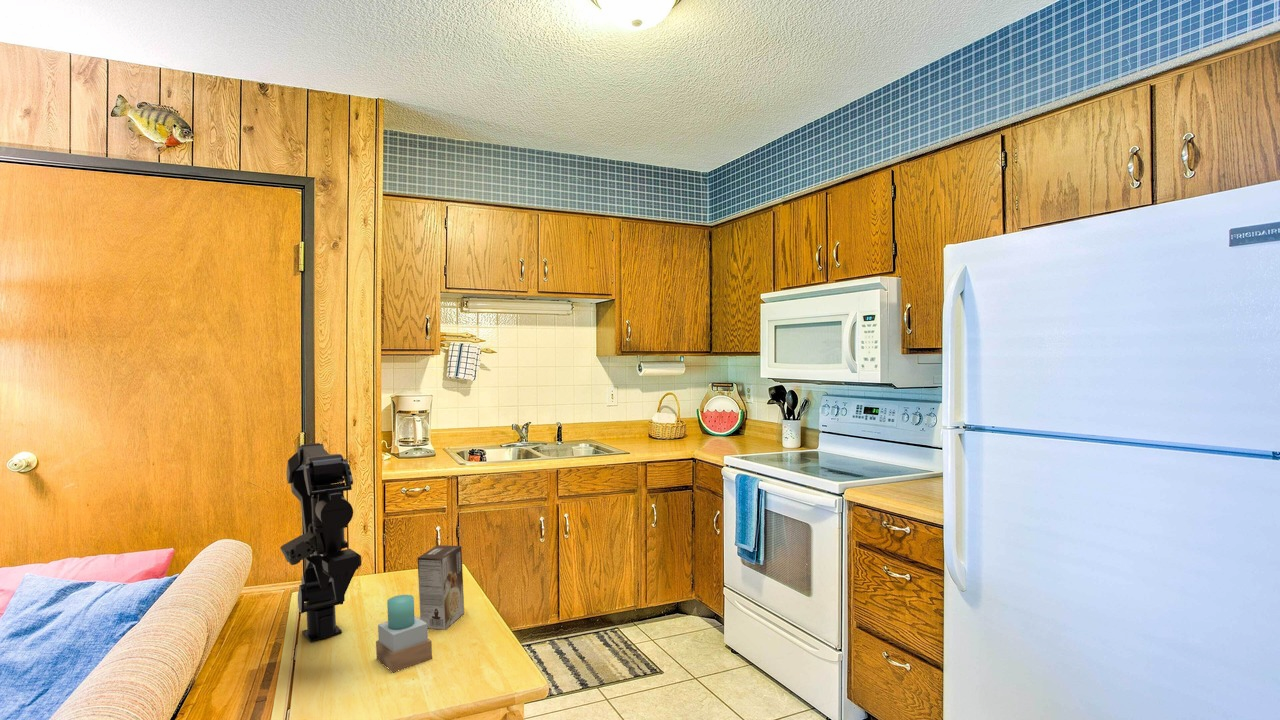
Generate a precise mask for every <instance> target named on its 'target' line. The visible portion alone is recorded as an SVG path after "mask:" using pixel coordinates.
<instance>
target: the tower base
mask: <svg viewBox="0 0 1280 720" xmlns="http://www.w3.org/2000/svg"><path fill="white" fill-rule="evenodd" d="M432 642H433V641H432V640H431V639H430V638H428V641H426V642H423V643H420V644H417V645H415V646H412V647H409V648H406V649H403V650H401V651H398V652H395V653H393V652H392V651H391V650H389V649H388V648H387V647H385V646H384V645H383V644H381V643H380V642H379V639H378V640H375V649H376V651H375V652H376V660H377V659H378V660H379V661H380V662H379V661H378V660H377V661H378V662H379V663H381V664H382V665H383V664H384V665H385V666H386V667H388V668H389V669H390V670H391V671H392V672H394V673H396V672H395V671H397V672H399V671H398V670H400V671H402V670H401V669H403V670H405V669H404V668H406V669H408V668H411V667H414V666H416V665H419V664H422V663H424V662H427V661H430V660H433V648H432V647H433V646H432V645H433V644H432ZM384 665H383V666H384ZM385 666H384V667H385ZM410 666H411V667H410ZM386 667H385V668H386ZM407 667H408V668H407ZM388 668H387V669H388ZM389 669H388V670H389ZM390 670H389V671H390ZM391 671H390V672H391ZM392 672H391V673H392Z"/></svg>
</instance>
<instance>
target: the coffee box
mask: <svg viewBox="0 0 1280 720" xmlns="http://www.w3.org/2000/svg"><path fill="white" fill-rule="evenodd" d="M462 547H463V546H462V545H442V544H441V545H439V544H438V545H436V546H434V547H432V548H431V549H429V550H427V551H426V552H424V553H422V554H421V555H419V556H418V557H416V558H417V570H418V571H417V576H418V579H417V580H418V599H419V600H418V601H419V619H421V620H422V621H424V622H425V623H427V629H428V628H429V629H430V630H431V629H433V630H448V629H449V627H450V626H451V625H453V623H455V622H456V621H457V620H458V619H459V618H460V617H462V616H463V615H464V614H465V600H464V598H465V597H464V596H465V595H464V574H463V556H462V555H463V553H462V552H463V551H462ZM429 629H428V630H429Z"/></svg>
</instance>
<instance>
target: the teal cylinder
mask: <svg viewBox="0 0 1280 720" xmlns="http://www.w3.org/2000/svg"><path fill="white" fill-rule="evenodd" d="M386 604H387V606H386V607H387V621H388V627H389V628H390V629H404V628H407V627H410V626H412V625H413V624H414V623H415V618H414V616H415V597H414V596H413V595H412V594H399V595H395V596H392V597H390V598H388V599H387V602H386Z"/></svg>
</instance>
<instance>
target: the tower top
mask: <svg viewBox="0 0 1280 720" xmlns="http://www.w3.org/2000/svg"><path fill="white" fill-rule="evenodd" d="M414 618H415V623H414V624H413V625H412V626H410V627H407V628H404V629H390V628H389V627H388V620H387V621H383V622H381V623H378V625H377V629H378V630H377V631H378V635H377V636H378V640H379V642H380V643H381V644H383V645H384V646H385V647H387V648H388V649H389V650H391V651H392V652H393V653H395V652H398V651H401V650H403V649H406V648H409V647H412V646H415V645H417V644H420V643H423V642H426V641H428V639H429V635H428V628H427V623H425V622H424V621H422V620H421V619H420V617H417V616H416V615H414Z"/></svg>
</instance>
